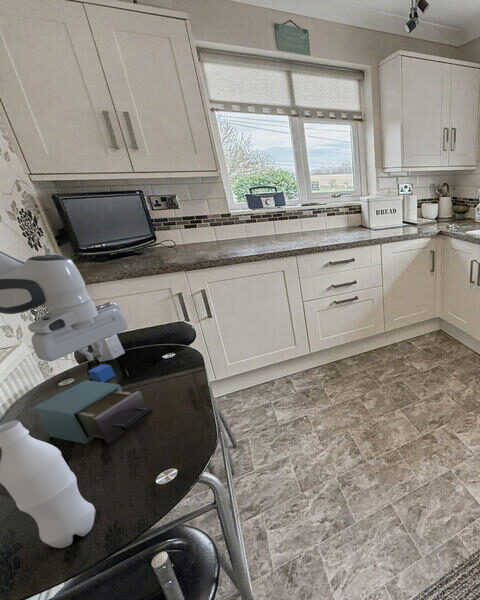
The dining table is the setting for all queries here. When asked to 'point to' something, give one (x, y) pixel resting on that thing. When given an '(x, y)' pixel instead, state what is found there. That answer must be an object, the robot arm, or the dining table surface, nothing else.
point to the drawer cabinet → (71, 409)
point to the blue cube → (101, 373)
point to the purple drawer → (112, 415)
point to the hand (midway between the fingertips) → (95, 357)
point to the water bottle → (43, 486)
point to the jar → (110, 348)
